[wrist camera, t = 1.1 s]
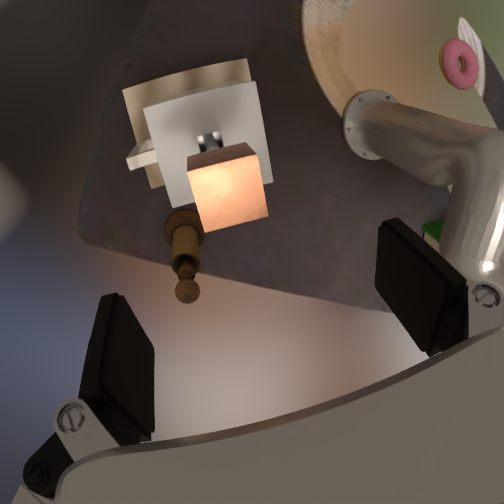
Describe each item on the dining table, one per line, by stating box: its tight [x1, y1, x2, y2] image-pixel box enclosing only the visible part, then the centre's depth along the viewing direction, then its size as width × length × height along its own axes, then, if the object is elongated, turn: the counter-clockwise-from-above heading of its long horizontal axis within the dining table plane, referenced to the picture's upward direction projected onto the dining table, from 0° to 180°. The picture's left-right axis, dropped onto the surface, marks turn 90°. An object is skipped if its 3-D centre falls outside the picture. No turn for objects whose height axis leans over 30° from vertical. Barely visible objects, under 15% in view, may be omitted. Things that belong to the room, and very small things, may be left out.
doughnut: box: [439, 38, 479, 90], centre depth 40 cm, size 11×11×4 cm
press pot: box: [126, 80, 273, 208], centre depth 35 cm, size 15×11×15 cm
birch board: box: [122, 58, 251, 189], centre depth 41 cm, size 18×16×1 cm
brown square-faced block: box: [187, 131, 268, 233], centre depth 25 cm, size 8×8×19 cm
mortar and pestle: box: [165, 210, 205, 304], centre depth 43 cm, size 7×6×18 cm
